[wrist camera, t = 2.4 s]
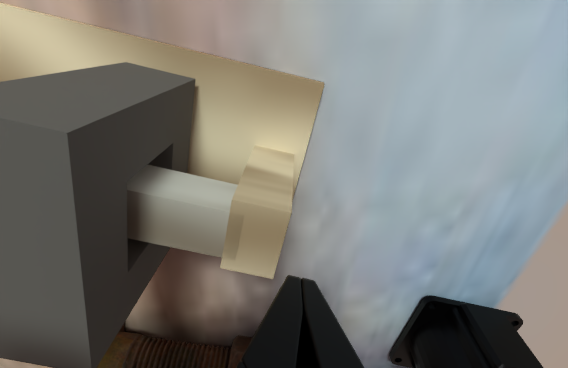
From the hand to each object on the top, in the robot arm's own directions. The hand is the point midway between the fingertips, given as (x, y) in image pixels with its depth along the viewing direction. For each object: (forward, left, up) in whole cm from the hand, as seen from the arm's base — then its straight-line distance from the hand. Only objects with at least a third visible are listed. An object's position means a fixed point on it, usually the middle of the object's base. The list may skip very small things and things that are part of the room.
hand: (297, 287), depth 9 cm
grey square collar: (0, +7, -8) cm, 10 cm away
